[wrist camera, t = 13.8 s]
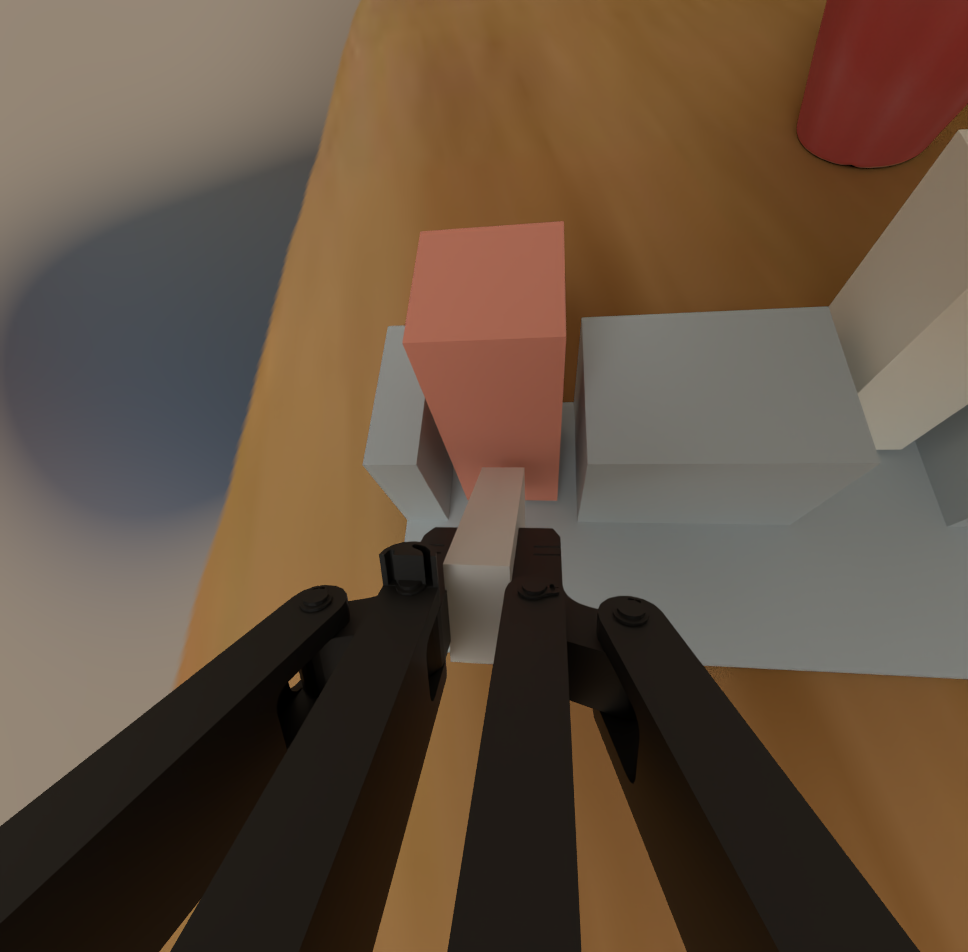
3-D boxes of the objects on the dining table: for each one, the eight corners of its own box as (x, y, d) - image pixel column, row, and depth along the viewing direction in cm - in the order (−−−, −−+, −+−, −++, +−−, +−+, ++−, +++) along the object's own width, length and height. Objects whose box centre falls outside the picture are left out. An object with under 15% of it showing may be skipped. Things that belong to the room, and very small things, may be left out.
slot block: (935, 401, 22) (1078, 294, 16) (1052, 683, 17) (1323, 679, 11) (425, 411, 25) (388, 326, 20) (394, 649, 20) (332, 632, 14)
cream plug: (873, 371, 22) (1137, 114, 12) (901, 449, 20) (1235, 222, 11) (778, 374, 23) (958, 129, 13) (798, 450, 21) (1023, 235, 11)
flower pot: (762, 90, 34) (838, -121, 25) (937, 83, 32) (1086, -149, 23) (774, 186, 29) (870, -27, 21) (976, 184, 27) (1176, -52, 19)
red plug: (556, 422, 23) (563, 221, 13) (557, 500, 21) (566, 336, 11) (473, 423, 24) (420, 231, 14) (467, 499, 22) (402, 343, 12)
